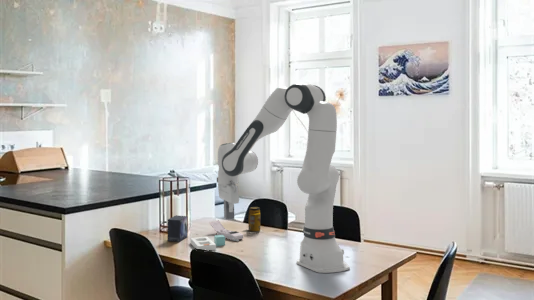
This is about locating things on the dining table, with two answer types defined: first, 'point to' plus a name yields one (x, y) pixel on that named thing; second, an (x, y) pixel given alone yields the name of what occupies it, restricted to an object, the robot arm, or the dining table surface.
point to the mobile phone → (226, 231)
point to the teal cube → (219, 240)
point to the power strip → (203, 243)
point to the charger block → (226, 213)
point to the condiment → (254, 220)
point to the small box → (177, 228)
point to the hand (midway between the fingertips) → (229, 211)
